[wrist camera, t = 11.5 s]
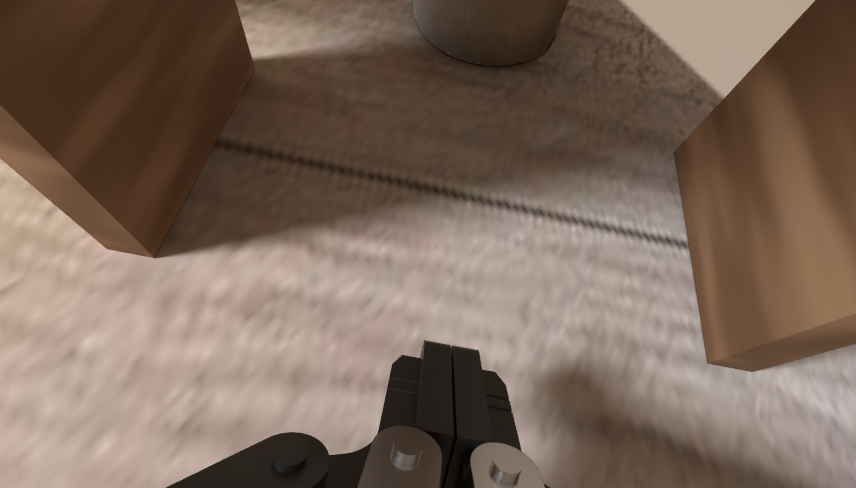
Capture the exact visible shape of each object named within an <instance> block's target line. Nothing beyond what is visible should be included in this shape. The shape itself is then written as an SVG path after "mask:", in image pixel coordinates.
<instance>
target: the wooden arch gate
mask: <svg viewBox="0 0 856 488" xmlns="http://www.w3.org/2000/svg"><path fill="white" fill-rule="evenodd" d="M254 69H255V67H254V64H253V61H252V57H251V54H250V50H249V47H248V43H247V40H246V37H245V33H244V30H243V26H242V23H241V19H240V16H239V13H238V9H237V6H236V2H235V0H0V158H1V159H2V160H3V161H4V162H5V163H6V164H8V165H9V166H10V167H11V168H12V169H13V170H15V171H16V172H17V173H18V174H19V175H21V176H22V177H23V178H24V179H25V180H26V181H28V182H29V183H30V184H31V185H32V186H33V187H35V188H36V189H37V190H38V191H39V192H41V193H42V194H43V195H44V196H45V197H46V198H48V199H49V200H50V201H51V202H52V203H53V204H55V205H56V206H57V207H58V208H59V209H61V210H62V211H63V212H64V213H65V214H66V215H68V216H69V217H70V218H71V219H72V220H73V221H75V222H76V223H77V224H78V225H79V226H81V227H82V228H83V229H84V230H85V231H86V232H88V233H89V234H90V235H91V236H92V237H93V238H95V239H96V240H97V241H98V242H99V243H101V244H102V245H103V246H104V247H105V248H106V249H110V250H115V251H120V252H126V253H131V254H136V255H141V256H147V257H152V258H155V256H156V254H157V252H158V250H159V248H160V247H161V245H162V243H163V241H164V239H165V237H166V235H167V233H168V231H169V230H170V228H171V226H172V224H173V222H174V220H175V218H176V216H177V214H178V212H179V211H180V209H181V207H182V205H183V203H184V201H185V199H186V197H187V195H188V194H189V192H190V190H191V188H192V186H193V184H194V182H195V180H196V178H197V177H198V175H199V173H200V171H201V169H202V167H203V165H204V163H205V161H206V160H207V158H208V156H209V154H210V152H211V150H212V148H213V146H214V144H215V143H216V141H217V139H218V137H219V135H220V133H221V131H222V129H223V127H224V126H225V124H226V122H227V120H228V118H229V116H230V114H231V112H232V110H233V109H234V107H235V105H236V103H237V101H238V99H239V97H240V95H241V93H242V92H243V90H244V88H245V86H246V84H247V82H248V80H249V78H250V76H251V75H252V73H253V71H254ZM674 155H675V162H676V168H677V174H678V180H679V187H680V193H681V199H682V206H683V212H684V218H685V225H686V231H687V237H688V244H689V250H690V256H691V263H692V269H693V275H694V281H695V288H696V294H697V300H698V307H699V313H700V319H701V326H702V332H703V338H704V345H705V351H706V357H707V363H708V364H714V365H719V366H724V367H729V368H735V369H740V370H745V371H750V372H753V371H757V370H761V369H764V368H768V367H772V366H775V365H779V364H783V363H786V362H790V361H794V360H797V359H801V358H804V357H808V356H812V355H815V354H819V353H823V352H826V351H830V350H834V349H837V348H841V347H845V346H848V345H852V344H855V343H856V0H815V1H814V2H813V4H812V5H811V6H810V7H809V8H808V9H807V10H806V11H805V12H804V13H803V14H802V16H801V17H800V18H799V19H798V20H797V21H796V22H795V23H794V24H793V25H792V26H791V27H790V28H789V29H788V30H787V32H786V33H785V34H784V35H783V36H782V37H781V38H780V39H779V40H778V41H777V42H776V43H775V45H774V46H773V47H772V48H771V49H770V50H769V51H768V52H767V53H766V54H765V55H764V56H763V57H762V58H761V59H760V61H759V62H758V63H757V64H756V65H755V66H754V67H753V68H752V69H751V70H750V71H749V72H748V73H747V75H746V76H745V77H744V78H743V79H742V80H741V81H740V82H739V83H738V84H737V85H736V86H735V88H734V89H733V90H732V91H731V92H730V93H729V94H728V95H727V96H726V97H725V98H724V99H723V100H722V101H721V103H720V104H719V105H718V106H717V107H716V108H715V109H714V110H713V111H712V112H711V113H710V114H709V115H708V117H707V118H706V119H705V120H704V121H703V122H702V123H701V124H700V125H699V126H698V127H697V128H696V129H695V131H694V132H693V133H692V134H691V135H690V136H689V137H688V138H687V139H686V140H685V141H684V142H683V143H682V145H681V146H680V147H679V148H678V149H677V150H676V151H675V152H674Z"/></svg>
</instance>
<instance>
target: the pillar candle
mask: <svg viewBox="0 0 856 488" xmlns="http://www.w3.org/2000/svg"><path fill="white" fill-rule="evenodd" d="M567 3H568V0H412V5H413V15H414V18H415V21H416V23H417V25H418V27H419V30H420V31H421V33H422V34H423V36H424V37H425V38H426V39H427V40H428V41H429V42H430V43H431V44H432V45H433V46H435V47H437V48H438V49H439V50H441V51H443V52H444V53H447V54H449V55H451V56H452V57H454V58H457V59H459V60H464V61H467V62H471V63H474V64H482V65H489V66H492V65H493V66H500V65H503V66H504V65H511V64H516V63H522V62H526V61H529V60H533V59H535V58H538V57H540V56H541V55H542V54H543V53H544V52H546V51H547V50H548V49H549V48H550V46H551V45H552V41H554V39H555V36H556V30H557V27H558V25H559V22H560V20H561V18H562V15H563V13H564V10H565V8H566V5H567Z"/></svg>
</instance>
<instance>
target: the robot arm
mask: <svg viewBox="0 0 856 488" xmlns="http://www.w3.org/2000/svg"><path fill="white" fill-rule="evenodd" d="M511 410H512V409H511V405H510V401H509V397H508V393H507V388H506V385H505V384H504V382H503V381H502V380H501V379H500V377H499V376H498V375H497V374H496V372H492V371H486V370H482V367H481V361H480V354H479V351H478V350H474V349H469V348H463V347H458V346H453V345H452V347H451V346H450V345H447V344H441V343H436V342H431V341H425V340H424V343H423V347H422V352H421V357H420V358H416V357H410V356H405V355H402V356H401V357H400V358H398V359H397V360H396V361H395V362H394V363H393V364H392V368H391V373H390V378H389V383H388V387H387V392H386V397H385V402H384V407H383V412H382V416H381V421H380V426H379V431H378V434H377V435H376V437H375V438H374V440H373V441H372V442H371V443H370V444H369V445H368V446H366V447H364V448H363V449H360V450H358V451H355V452H352V453H346V454H337V455H329V454H328V451H327V449H326V447H325V446H324V445H323V444H322V443H321V442H320V441H319V440H318V439H316V438H314V437H312V436H310V435H307V434H303V433H296V432H290V433H281V434H277V435H274V436H271V437H269V438H267V439H265V440H263V441H261V442H259V443H257V444H255V445H252V446H250V447H248V448H246V449H244V450H242V451H240V452H238V453H236V454H234V455H232V456H230V457H228V458H226V459H224V460H222V461H220V462H218V463H216V464H213V465H211V466H209V467H207V468H205V469H203V470H201V471H199V472H197V473H195V474H193V475H191V476H189V477H187V478H185V479H183V480H181V481H179V482H176V483H174V484H172V485H170V486H168V487H166V488H550V487H548V486H546V485H545V484H544V483H543V481H542V478H541V475H540V473H539V470H538V468H537V467H536V465H535V464H534V462H533V461H532V460H531V459H530V458H529V457H528V456H527V455H525V454H524V453H523V452H522V451H521V447H520V443H519V438H518V434H517V430H516V426H515V422H514V418H513V413H512V412H511Z"/></svg>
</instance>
